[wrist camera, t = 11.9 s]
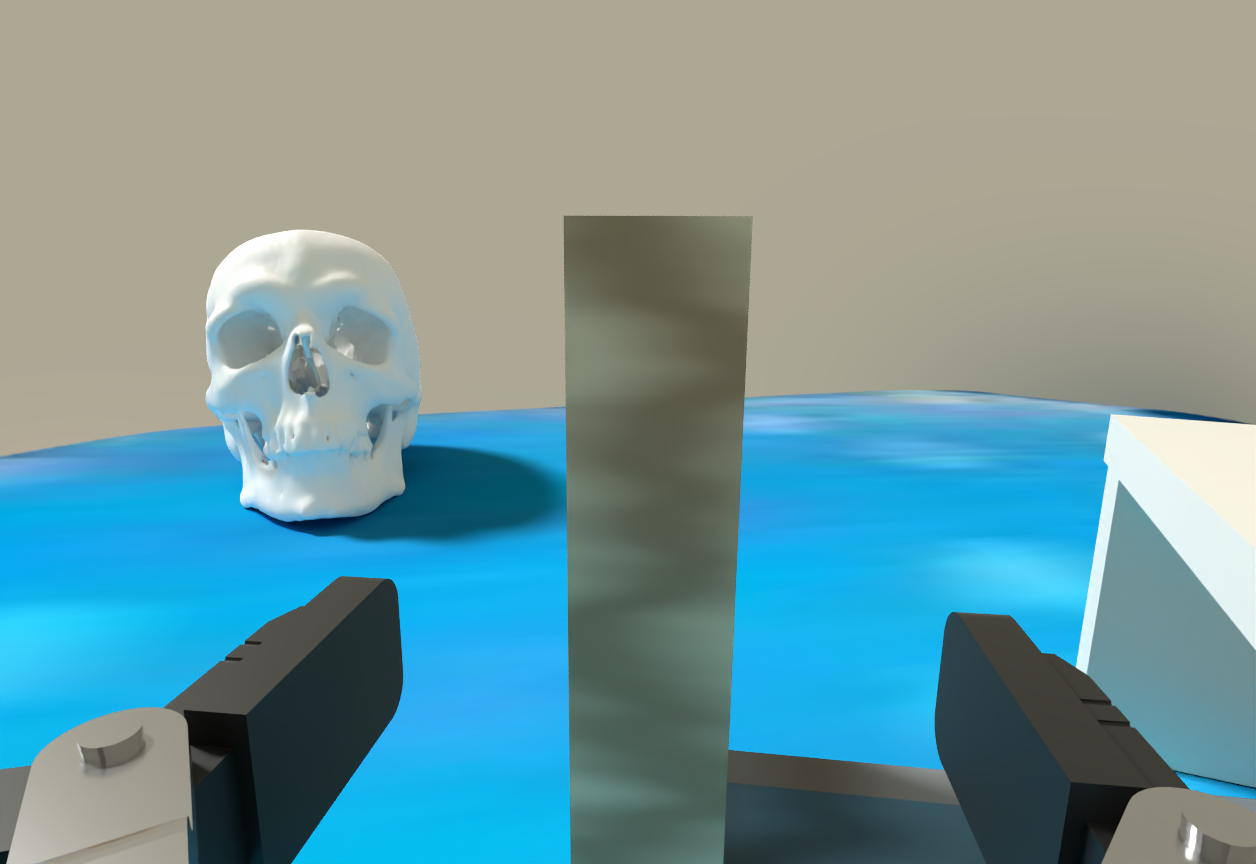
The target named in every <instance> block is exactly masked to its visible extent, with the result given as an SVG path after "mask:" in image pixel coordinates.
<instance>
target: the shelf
mask: <svg viewBox="0 0 1256 864" xmlns="http://www.w3.org/2000/svg"><path fill="white" fill-rule="evenodd" d="M1104 461H1105V463H1106V464H1107V465H1108V472H1107V479H1106V485H1105V491H1104V497H1103V503H1102V510H1101V516H1100V522H1099V528H1098V534H1097V541H1096V547H1095V553H1094V559H1093V565H1092V571H1091V578H1090V584H1089V590H1088V596H1087V602H1086V609H1085V615H1084V621H1083V627H1082V633H1081V640H1080V646H1079V652H1078V658H1077V664H1076V668H1077V669H1079V670H1080V671H1082V672H1084V673H1085V674H1087V675H1088V676H1090V677H1091V679H1092V680H1093V681H1094V682H1095V683H1096V684H1097V685H1098V686H1099V688H1100V689H1101V690H1102V691H1103V692H1104V693H1105V694H1106V695H1107V697H1108V698H1109V699H1110V700H1111V704H1112V706H1116V707H1117V708H1118V709H1119V710H1120V711H1121V712H1122V714H1123V715H1124V716H1125V717H1126V718H1127V719H1128V720H1129V721H1130V727H1134V728H1136V729H1137V730H1138V732H1139V733H1140V734H1141V735H1142V736H1143V737H1144V738H1145V739H1146V741H1147V742H1148V743H1149V744H1150V745H1151V746H1152V747H1153V748H1154V750H1155V751H1156V752H1157V753H1158V754H1159V755H1160V756H1161V758H1162V759H1163V760H1164V761H1165V762H1166V763H1167V764H1168V765H1169V767H1170V768H1171V769H1172V770H1175V771H1180V772H1185V773H1189V774H1194V775H1199V776H1203V777H1208V778H1213V779H1217V780H1222V781H1227V782H1231V783H1236V784H1241V785H1245V786H1250V787H1255V788H1256V425H1248V424H1234V423H1221V422H1207V421H1194V420H1180V419H1166V418H1153V417H1139V416H1126V415H1112V414H1111V418H1110V424H1109V430H1108V437H1107V443H1106V449H1105V456H1104Z"/></svg>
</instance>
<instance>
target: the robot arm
mask: <svg viewBox="0 0 1256 864" xmlns="http://www.w3.org/2000/svg"><path fill="white" fill-rule="evenodd" d="M402 685H403V665H402V650H401V635H400V619H399V604H398V593H397V589H396V586H395V584H394V582H393V581H392V580H390V579H381V578H364V577H346V576H341V577H338V578H337V579H336V580H334V581H333V582H332V583H331V584H330V585H329V586H327V587H326V588H325V589H324V590H323V591H322V592H320V593H319V594H318V595H317V596H316V597H315V598H313V599H312V600H311V601H310V602H309V603H308V604H306V605H305V606H301V607H299V608H297V609H294V610H292V611H290V612H288V613H286V614H284V615H282V616H280V617H277V618H275V619H273V620H271V621H269V622H267V623H266V624H265V625H264V626H263V627H261V628H260V629H259V630H258V631H256V632H255V633H254V634H253V635H252V636H250V637H249V638H248V639H247V640H245V644H244V645H239V646H238V647H237V648H236V649H235V650H233V651H232V652H231V653H230V654H228V655H227V656H226V658H225V661H220V662H219V663H217V664H216V665H215V666H214V667H213V668H211V669H210V670H209V671H208V672H207V673H205V674H204V675H203V676H202V677H200V678H199V679H198V680H197V681H196V682H194V683H193V684H192V685H191V686H189V687H188V688H187V689H186V690H185V691H183V692H182V693H181V694H180V695H178V696H177V697H176V698H175V699H174V700H172V701H171V702H170V703H169V704H168V705H166V706H165V707H164V708H153V707H150V708H136V709H129V710H124V711H119V712H115V713H111V714H108V715H104V716H101V717H98V718H96V719H93V720H90V721H88V722H86V723H83V724H81V725H79V726H77V727H75V728H73V729H71V730H69V731H67V732H65V733H64V734H62V735H61V736H59V737H57V738H56V739H55V740H53V741H52V742H51V743H49V744H48V745H47V746H46V747H45V748H44V749H43V750H42V751H41V752H40V753H39V754H38V755H37V757H36V758H35V759H34V761H33V764H32V766H25V767H17V768H9V769H1V770H0V864H291V863H292V862H293V860H294V859H295V857H296V856H297V854H298V853H299V852H300V850H301V849H302V847H303V846H304V844H305V843H306V842H307V840H308V839H309V837H310V836H311V834H312V833H313V831H314V830H315V829H316V827H317V826H318V824H319V823H320V821H321V820H322V819H323V817H324V816H325V814H326V813H327V811H328V810H329V809H330V807H331V806H332V804H333V803H334V801H335V800H336V798H337V797H338V796H339V794H340V793H341V791H342V790H343V788H344V787H345V786H346V784H347V783H348V781H349V780H350V778H351V777H352V776H353V774H354V773H355V771H356V770H357V768H358V767H359V765H360V764H361V763H362V761H363V760H364V758H365V757H366V755H367V754H368V753H369V751H370V750H371V748H372V747H373V745H374V744H375V743H376V741H377V740H378V738H379V737H380V735H381V734H382V732H383V731H384V730H385V728H386V727H387V725H388V724H389V722H390V721H391V720H392V718H393V716H394V714H395V712H396V710H397V707H398V704H399V701H400V697H401V692H402ZM935 737H936V744H937V749H938V754H939V757H940V760H941V763H942V765H943V768H944V770H945V772H946V774H947V777H948V779H949V781H950V783H951V786H952V788H953V790H954V792H955V795H956V797H957V799H958V801H959V804H960V806H961V808H962V810H963V813H964V815H965V817H966V819H967V822H968V824H969V826H970V828H971V831H972V833H973V835H974V837H975V840H976V842H977V844H978V846H979V849H980V851H981V853H982V855H983V858H984V860H985V862H986V864H1256V814H1255V813H1253V812H1251V811H1249V810H1247V809H1245V808H1244V807H1241V806H1239V805H1237V804H1234V803H1232V802H1230V801H1227V800H1224V799H1222V798H1219V797H1216V796H1213V795H1210V794H1206V793H1202V792H1199V791H1194V790H1190V789H1189V788H1188V787H1187V786H1186V785H1185V783H1184V782H1183V781H1182V780H1181V779H1180V778H1179V777H1178V776H1177V774H1176V773H1175V772H1174V771H1173V770H1172V769H1171V768H1170V767H1169V765H1168V764H1167V763H1166V762H1165V761H1164V760H1163V759H1162V758H1161V756H1160V755H1159V754H1158V753H1157V752H1156V751H1155V750H1154V748H1153V747H1152V746H1151V745H1150V744H1149V743H1148V742H1147V741H1146V739H1145V738H1144V737H1143V736H1142V735H1141V734H1140V733H1139V732H1138V730H1137V729H1136V728H1134V727H1130V721H1129V720H1128V719H1127V718H1126V717H1125V716H1124V715H1123V714H1122V712H1121V711H1120V710H1119V709H1118V708H1117V707H1116V706H1112V704H1111V700H1110V699H1109V698H1108V697H1107V695H1106V694H1105V693H1104V692H1103V691H1102V690H1101V689H1100V688H1099V686H1098V685H1097V684H1096V683H1095V682H1094V681H1093V680H1092V679H1091V677H1090V676H1088V675H1087V674H1085V673H1084V672H1082V671H1080V670H1079V669H1077V668H1076V667H1074V666H1073V665H1071V664H1069V663H1068V662H1066V661H1065V660H1063V659H1061V658H1060V657H1058V656H1057V655H1055V654H1047V653H1041V652H1040V650H1039V649H1038V648H1037V647H1036V645H1035V644H1034V643H1033V642H1032V641H1031V639H1030V638H1029V637H1028V636H1027V634H1026V633H1025V632H1024V631H1023V630H1022V628H1021V627H1020V626H1019V625H1018V623H1017V622H1016V621H1015V620H1014V619H1013V618H1012V617H1011V616H1009V615H994V614H976V613H959V612H952V613H951V614H950V615H949V616H948V618H947V621H946V625H945V630H944V638H943V647H942V656H941V665H940V673H939V682H938V691H937V700H936V708H935Z"/></svg>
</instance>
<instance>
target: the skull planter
mask: <svg viewBox="0 0 1256 864" xmlns="http://www.w3.org/2000/svg"><path fill="white" fill-rule="evenodd" d="M206 310H207V316H208V318H207V324H206V348H207V349H206V350H207V361H208V365H209V368H210V371H211V374H212V381H211V386H210V387H209V388H208V390H207V392H206V403H207V406H208V407H209V409H210V410H212V412H214V413H215V414H216V416H217V417H218V418H219V419H220V420H221V421H222V423H223V427H224V433H225V438H226V443H227V446H228V448H229V450H230V452H231V453H232V454H233V455H234V457H235V458H236V459H237V460H239V461H240V462H242V466H243V489H242V492H241V495H240V502H241V504H242V506H244V507H245V508H250V507H253V508H255V509H259V510H260V511H262V512H263V513H265V514H267V515H269V516H271V517H273V518H276V519H278V520H282V521H286V522H291V521H295V520H297V521H303V520H313V519H320V518H337V517H355V516H361V515H364V514H367V513H369V512H372V511H373V510H375V509H376V508H377V507H378V506H379V505H380V504H381V503H383V502H384V501H385V500H388V499H390V498H391V497H393V496H397V495H401V494H402V493H403V492H404V490H405V482H404V477H403V468H402V457H401V449H405V448H406V447H408V446H409V444H410V443H411V441H412V439H413V437H414V434H415V432H416V428H417V414H418V409H419V405H420V402H421V398H422V392H421V384H420V353H419V346H418V342H417V336H416V332H415V329H414V325H413V322H412V318H411V314H410V310H409V307H408V303H407V299H406V297H405V294H404V291H403V289H402V287H401V284H400V283H399V280H398V278H397V276H396V274H395V272H394V270H393V268H392V267H391V265H390V264H389V263H388V262H387V260H386V259H384V258H383V257H382V256H381V255H380V254H379V253H378V252H376V251H375V250H373V249H372V248H370V247H369V246H367V245H365V244H363V243H361V242H359V241H356V240H354V239H351V238H348V237H345V236H342V235H338V234H333V233H328V232H323V231H314V230H292V231H285V232H279V233H274V234H269V235H264V236H261V237H258V238H255V239H252V240H250V241H247V242H246V243H244V244H242V245H240V246H238V247H237V248H236V249H235V250H233V251H232V252H231V253H230V254H229V255H228V256H227V257H226V258H225V259H224V260H223V262H222V263H221V264H220V265H219V267H218V268H217V269H216V271H215V273H214V276H213V279H212V282H211V285H210V288H209V291H208V295H207V300H206ZM265 456H266V457H268V458H269V459H270V462H268V461H267V459H266V457H265Z"/></svg>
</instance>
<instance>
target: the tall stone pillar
mask: <svg viewBox="0 0 1256 864" xmlns="http://www.w3.org/2000/svg"><path fill="white" fill-rule="evenodd" d="M751 240H752V216H751V217H747V216H737V217H736V216H564V272H565V273H564V277H565V278H564V282H565V283H564V284H565V372H566V373H565V375H566V468H567V561H568V653H569V745H570V837H571V864H986V862H985V860H984V858H983V855H982V853H981V851H980V849H979V846H978V844H977V842H976V840H975V837H974V835H973V833H972V831H971V828H970V826H969V824H968V822H967V819H966V817H965V815H964V813H963V810H962V808H961V806H960V804H959V801H958V799H957V797H956V795H955V792H954V790H953V788H952V786H951V783H950V781H949V779H948V777H947V774H946V772H945V770H937V769H926V768H915V767H905V766H894V765H883V764H872V763H862V762H851V761H840V760H829V759H819V758H808V757H797V756H786V755H776V754H765V753H754V752H743V751H733V750H728V747H729V725H730V703H731V681H732V659H733V637H734V615H735V593H736V571H737V549H738V526H739V504H740V482H741V460H742V438H743V416H744V393H745V372H746V350H747V327H748V306H749V284H750V262H751V261H750V260H751ZM1213 796H1216V795H1213ZM1216 797H1219V798H1222V799H1224V800H1227V801H1230V802H1232V803H1234V804H1237V805H1239V806H1241V807H1244V808H1245V809H1247V810H1249V811H1251V812H1253V813H1255V814H1256V799H1249V798H1238V797H1227V796H1216Z"/></svg>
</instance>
